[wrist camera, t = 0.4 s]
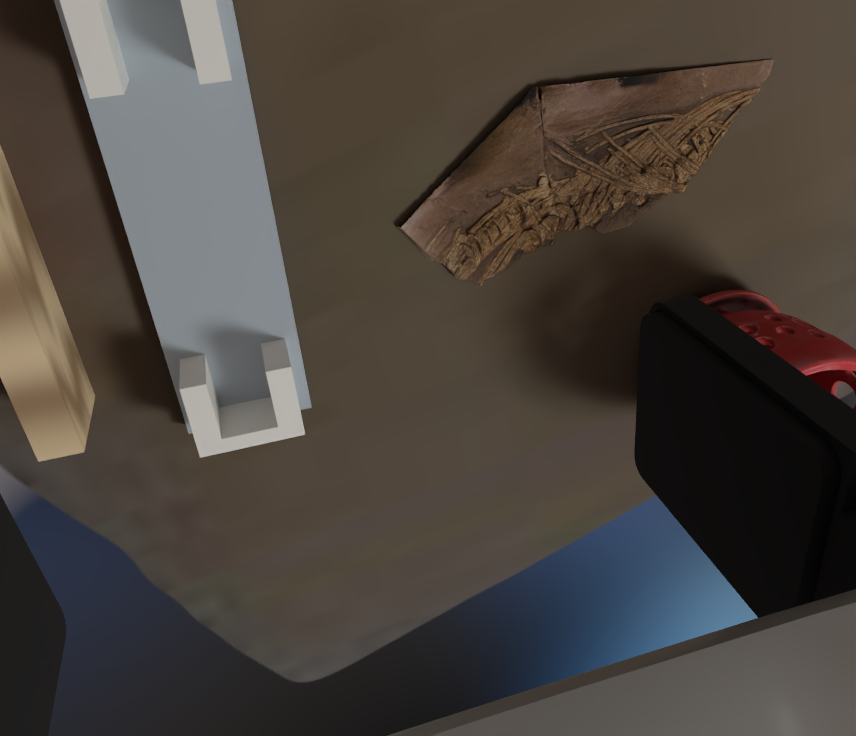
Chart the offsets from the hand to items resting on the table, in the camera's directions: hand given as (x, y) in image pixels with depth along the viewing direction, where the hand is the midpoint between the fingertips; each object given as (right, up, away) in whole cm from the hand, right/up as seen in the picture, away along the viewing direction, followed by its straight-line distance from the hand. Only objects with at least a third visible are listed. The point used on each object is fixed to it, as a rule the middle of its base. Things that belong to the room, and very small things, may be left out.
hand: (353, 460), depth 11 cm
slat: (-21, +8, +30) cm, 38 cm away
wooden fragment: (+11, +15, +37) cm, 41 cm away
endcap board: (-12, +10, +32) cm, 35 cm away
